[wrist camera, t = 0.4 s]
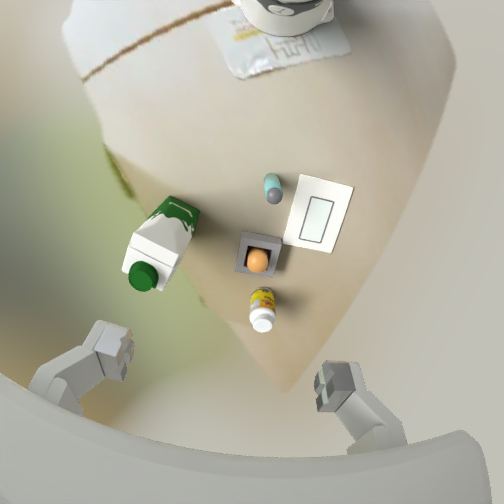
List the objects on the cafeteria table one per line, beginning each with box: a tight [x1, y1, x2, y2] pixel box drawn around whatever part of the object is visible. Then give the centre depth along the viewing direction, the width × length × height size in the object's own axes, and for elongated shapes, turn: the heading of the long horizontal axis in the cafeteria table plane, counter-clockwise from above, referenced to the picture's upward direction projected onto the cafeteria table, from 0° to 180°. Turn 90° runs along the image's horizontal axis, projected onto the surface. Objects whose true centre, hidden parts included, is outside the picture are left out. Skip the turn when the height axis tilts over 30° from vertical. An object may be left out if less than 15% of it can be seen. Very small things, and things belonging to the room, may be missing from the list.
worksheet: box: [282, 174, 353, 253], centre depth 54 cm, size 15×11×1 cm
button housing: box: [235, 231, 282, 278], centre depth 57 cm, size 8×8×3 cm
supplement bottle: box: [250, 288, 276, 332], centre depth 60 cm, size 6×6×10 cm
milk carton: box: [122, 196, 200, 292], centre depth 46 cm, size 9×9×20 cm
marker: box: [264, 173, 283, 204], centre depth 46 cm, size 3×3×10 cm
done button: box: [247, 247, 268, 273], centre depth 55 cm, size 4×4×3 cm
